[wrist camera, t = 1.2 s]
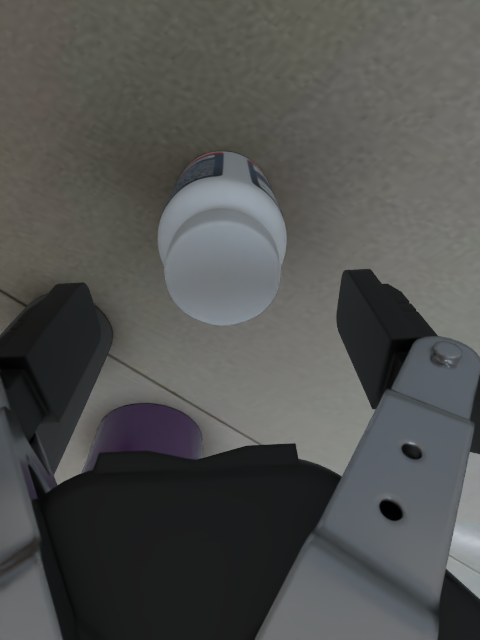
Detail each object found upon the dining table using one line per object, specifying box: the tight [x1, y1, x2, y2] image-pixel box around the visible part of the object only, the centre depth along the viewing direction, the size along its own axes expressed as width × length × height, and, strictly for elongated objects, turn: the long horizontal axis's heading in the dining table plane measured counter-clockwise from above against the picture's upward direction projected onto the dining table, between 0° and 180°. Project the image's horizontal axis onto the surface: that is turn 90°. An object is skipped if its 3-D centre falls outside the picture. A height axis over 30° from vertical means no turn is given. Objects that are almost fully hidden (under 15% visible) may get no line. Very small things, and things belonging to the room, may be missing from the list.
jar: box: [81, 404, 202, 474], centre depth 26 cm, size 10×10×10 cm
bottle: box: [0, 295, 113, 475], centre depth 17 cm, size 6×6×15 cm
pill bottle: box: [158, 151, 287, 325], centre depth 15 cm, size 5×5×9 cm
